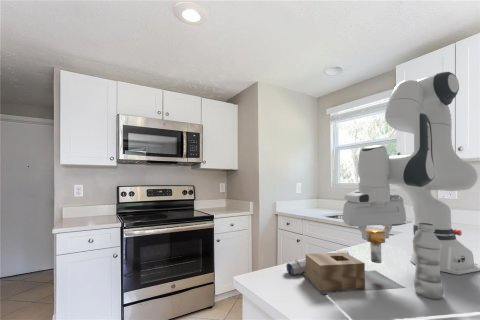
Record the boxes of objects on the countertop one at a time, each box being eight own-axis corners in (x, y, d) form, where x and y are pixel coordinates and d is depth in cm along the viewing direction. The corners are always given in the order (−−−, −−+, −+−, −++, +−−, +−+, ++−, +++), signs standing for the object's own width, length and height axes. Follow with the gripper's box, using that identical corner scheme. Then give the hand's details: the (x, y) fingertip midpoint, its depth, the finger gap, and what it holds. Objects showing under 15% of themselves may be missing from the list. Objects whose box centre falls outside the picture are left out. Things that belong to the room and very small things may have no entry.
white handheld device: (284, 260, 86) (344, 245, 93) (287, 279, 85) (346, 263, 93) (292, 266, 81) (354, 249, 88) (294, 286, 80) (357, 268, 88)
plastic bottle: (434, 305, 64) (432, 227, 65) (408, 293, 71) (406, 222, 72) (449, 300, 67) (446, 225, 68) (422, 289, 73) (420, 221, 74)
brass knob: (377, 257, 82) (376, 228, 83) (390, 263, 77) (389, 233, 77) (363, 258, 81) (362, 229, 82) (374, 265, 76) (373, 234, 76)
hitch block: (375, 272, 86) (374, 249, 86) (405, 289, 73) (404, 263, 73) (303, 276, 82) (303, 252, 82) (322, 295, 69) (322, 267, 69)
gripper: (395, 193, 85) (396, 234, 84) (339, 195, 81) (340, 237, 81) (410, 195, 78) (412, 239, 78) (351, 197, 75) (352, 243, 75)
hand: (375, 238), depth 79 cm, fingers closed on brass knob, 5 cm apart
